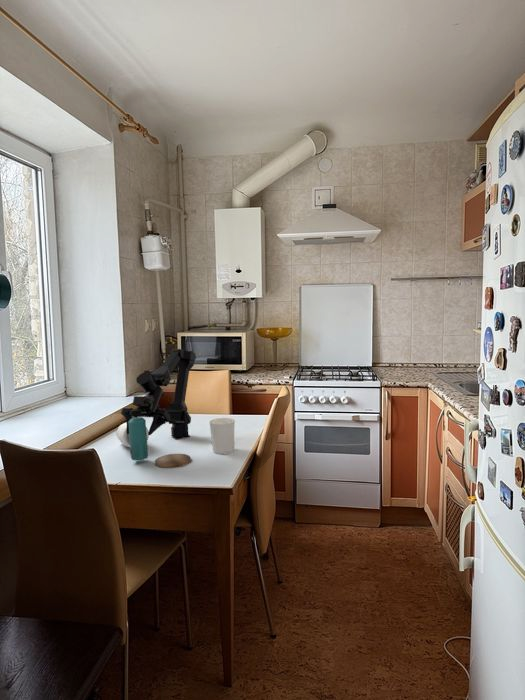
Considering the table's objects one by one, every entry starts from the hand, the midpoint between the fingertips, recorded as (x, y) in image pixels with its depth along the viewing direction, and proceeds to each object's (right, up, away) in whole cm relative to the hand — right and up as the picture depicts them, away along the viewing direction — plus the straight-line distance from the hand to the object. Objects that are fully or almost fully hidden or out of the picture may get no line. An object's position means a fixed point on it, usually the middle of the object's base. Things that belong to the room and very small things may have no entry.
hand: (138, 434), depth 174 cm
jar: (-13, -4, +28) cm, 31 cm away
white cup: (+31, -9, +10) cm, 34 cm away
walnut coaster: (+13, -10, -1) cm, 17 cm away
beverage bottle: (0, -11, +1) cm, 11 cm away
